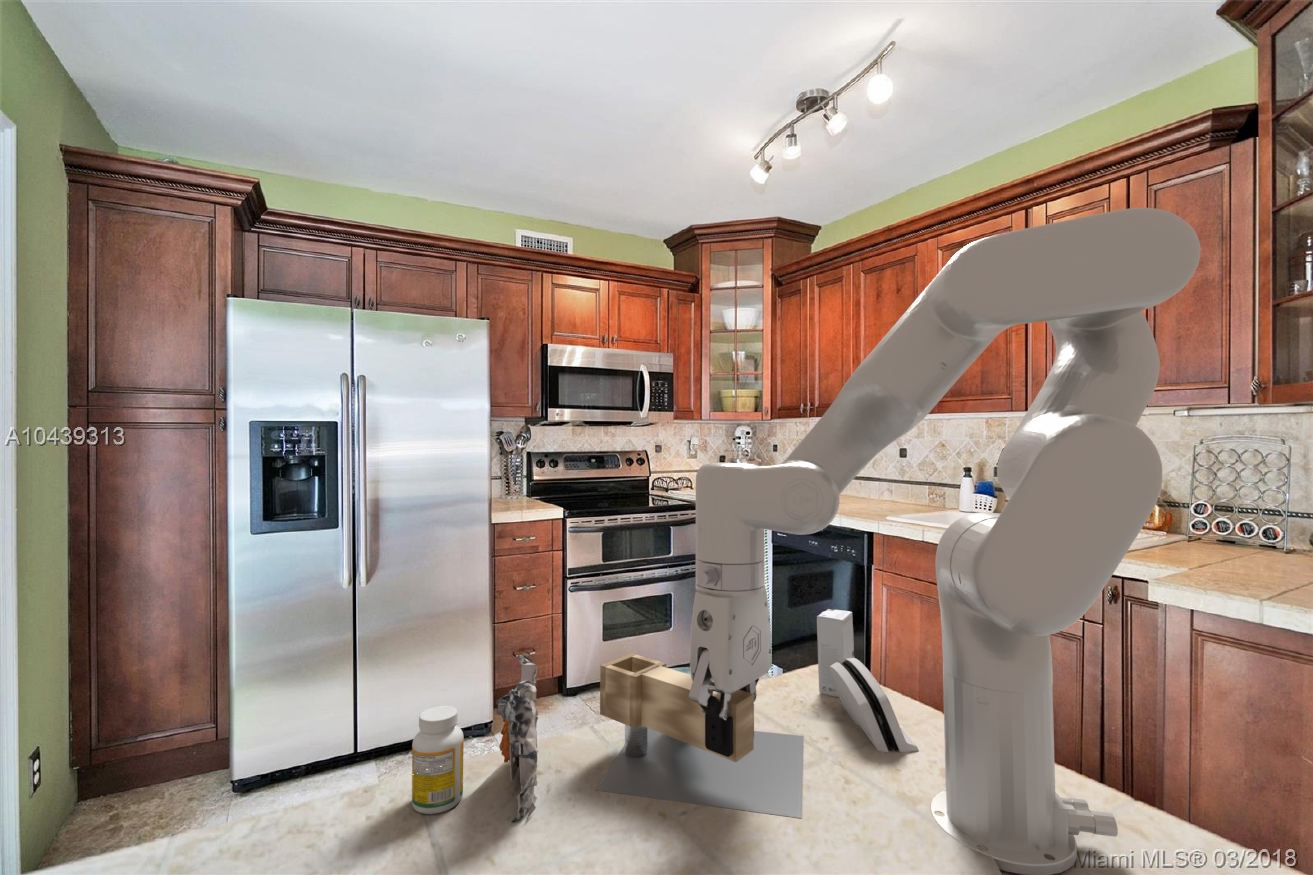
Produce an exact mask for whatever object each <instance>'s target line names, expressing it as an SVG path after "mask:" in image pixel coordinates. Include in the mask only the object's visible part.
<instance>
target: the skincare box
mask: <svg viewBox="0 0 1313 875" xmlns="http://www.w3.org/2000/svg"><path fill="white" fill-rule="evenodd" d="M853 622H854V621H853V612H852V611H849V610H841V609H832V608H828V609H826V610H825V611H821V613H820V614H819V615H817V616H816V636H817V639H816V640H817V661H818V662H817V664H818V665H817V666H818V669H817V672H818V692H819V693H820V694H824V695H826V696H830V697H836V698H839V699H840V696H839V693H838V691H837V688H836V685H835V682H834V679H833V676H832V674H831V671H830V668H829V667H830V666H831V665H833V664H834V663H836V662H838V663H842V662H844V659H849V658H855V647H854V646H855V642H854V624H853ZM842 664H843V663H842Z"/></svg>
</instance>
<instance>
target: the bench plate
mask: <svg viewBox="0 0 1313 875" xmlns="http://www.w3.org/2000/svg"><path fill="white" fill-rule="evenodd" d="M804 740H805V738H804V735H799V734H787V733H778V732H769V731H759V730H754V749H753V750H752V751H751V752H750V753H748V754H747V755H746V756H744V757H743V758H742V759H740V760H739V761H738V762H733V761H731V760H728V759H726V758H723V757H721V756H718V755H715V754H713V753H710V752H708V751H705V750H703V749H700V748H698V747H695V746H693V745H690V744H688V743H685V742H683V741H680V740H677V739H675V738H672V737H670V736H667V735H665V734H662V733H660V732H657V731H655V730H652V729H650V728H648V753H647V755H645V756H643V757H640V758H632V757H628V756H627V755H626V754H625V744H623V746H622V748H621V749H620V751H619V753H618V754H617V756H616V758H615V759H614V761H613V762H612V763H611V765H610V766H609V768H608V770H607V772H606V773H605V775H604V777H603V778H602V780H601V781H600V783H599V784H598V785H597V788H596V789H595V791H597V792H603V793H604V792H605V793H613V794H617V795H619V794H621V795H627V796H634V797H642V798H648V799H656V800H664V801H670V802H671V801H672V802H677V803H678V802H679V803H686V804H690V805H691V804H692V805H698V806H699V805H700V806H708V807H713V808H722V809H728V810H729V809H730V810H735V811H742V812H743V811H744V812H750V813H758V814H766V815H771V816H772V815H774V816H779V817H788V818H793V819H803V792H804V791H803V789H804V788H803V787H804V786H803V785H804V784H803V782H804V780H803V779H804V742H805V741H804Z"/></svg>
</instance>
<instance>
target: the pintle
mask: <svg viewBox="0 0 1313 875" xmlns="http://www.w3.org/2000/svg"><path fill="white" fill-rule="evenodd" d="M624 745H625V754H626V755H627V756H628V757H632V758H640V757H643V756H645V755H647V753H648V728H647V727H645V726H642V725H641V726H639V727H637V728H633V727H630V726H628V725H625V724H624Z"/></svg>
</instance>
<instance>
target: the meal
mask: <svg viewBox="0 0 1313 875" xmlns="http://www.w3.org/2000/svg"><path fill="white" fill-rule="evenodd" d="M517 658H518V662H519V664H520V665H521V674H520V675H521V676H520V677H521V678H520V681H519V682H517V683H516V684H517V686H516V687H515V688H512V689H511V690H509V691H508V693H507V694H505V695H504V696H502V697H500V698H498V700H496V701H495V705H494V707H495V708H496V713H497V715H498V716H500V717H502V722H503V723H504V724H503V727H502V730H500V734H501V735H502V736H501V740H500V743H499V750H500V751H501V756H503V757H504V760H503V761H504V762H503V763H504V764H505V763H509V772H510V780H511V782H514V780H515V778H516V775H517V772H518V770H519V777H520V778H519V780H520V793H519V794H517V795H516V799H517V812H516V813H517V815H516V816H515V817H514V818H513V819H512V820H511V821H510V822H511V823H517V821H518V820H519V819H521V818H524V817H525V815H526V812H528V814H527V817H526V820H525V821H527V820H528V819H529V818H530V816H531V815H532V814H533V813H534V811H535V810H536V809H537V807H536V805H535V804H536V803H537V802H536V801H537V799H538V797H537V796H536V794H535V787H537V786H538V779H537V778H538V777H537V768H538V764H537V763H538V752H539V750H538V749H539V748H538V740H537V739H538V737H537V723H538V720H539V719H538V716H539V712H538V710H537V706H536V702H537V701H538V700H537V693H538V692H537V688H536V687H537V686H536V684H537V680H536V679H537V676H538V675H537V671H538V664H535V663H533V660H532V659H531V658H529V657H527V656H526V655H521V654H518V655H517Z"/></svg>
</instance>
